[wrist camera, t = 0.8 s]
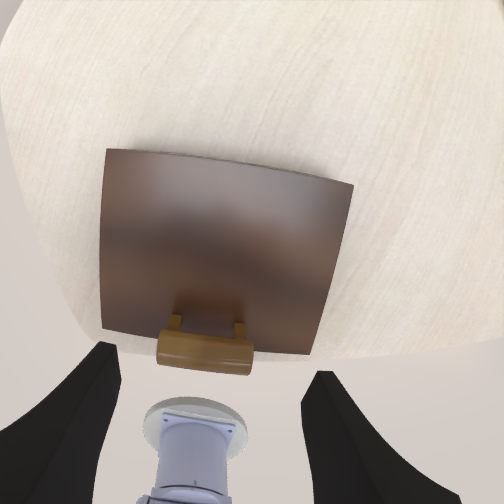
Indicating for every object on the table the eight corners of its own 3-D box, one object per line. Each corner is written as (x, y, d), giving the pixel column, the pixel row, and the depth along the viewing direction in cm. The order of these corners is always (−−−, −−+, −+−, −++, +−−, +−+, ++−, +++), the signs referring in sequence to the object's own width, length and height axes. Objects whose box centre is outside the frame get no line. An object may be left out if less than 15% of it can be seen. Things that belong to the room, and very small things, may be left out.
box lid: (307, 349, 21) (325, 395, 16) (105, 323, 19) (79, 365, 15) (349, 183, 18) (388, 195, 13) (110, 148, 16) (72, 148, 11)
